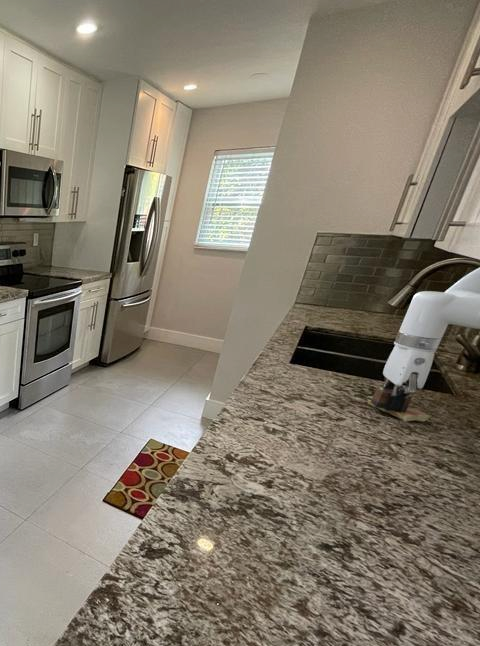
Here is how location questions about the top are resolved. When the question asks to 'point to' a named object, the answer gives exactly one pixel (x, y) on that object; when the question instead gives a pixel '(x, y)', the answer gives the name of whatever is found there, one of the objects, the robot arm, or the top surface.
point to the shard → (406, 414)
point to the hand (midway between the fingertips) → (388, 406)
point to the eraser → (382, 396)
